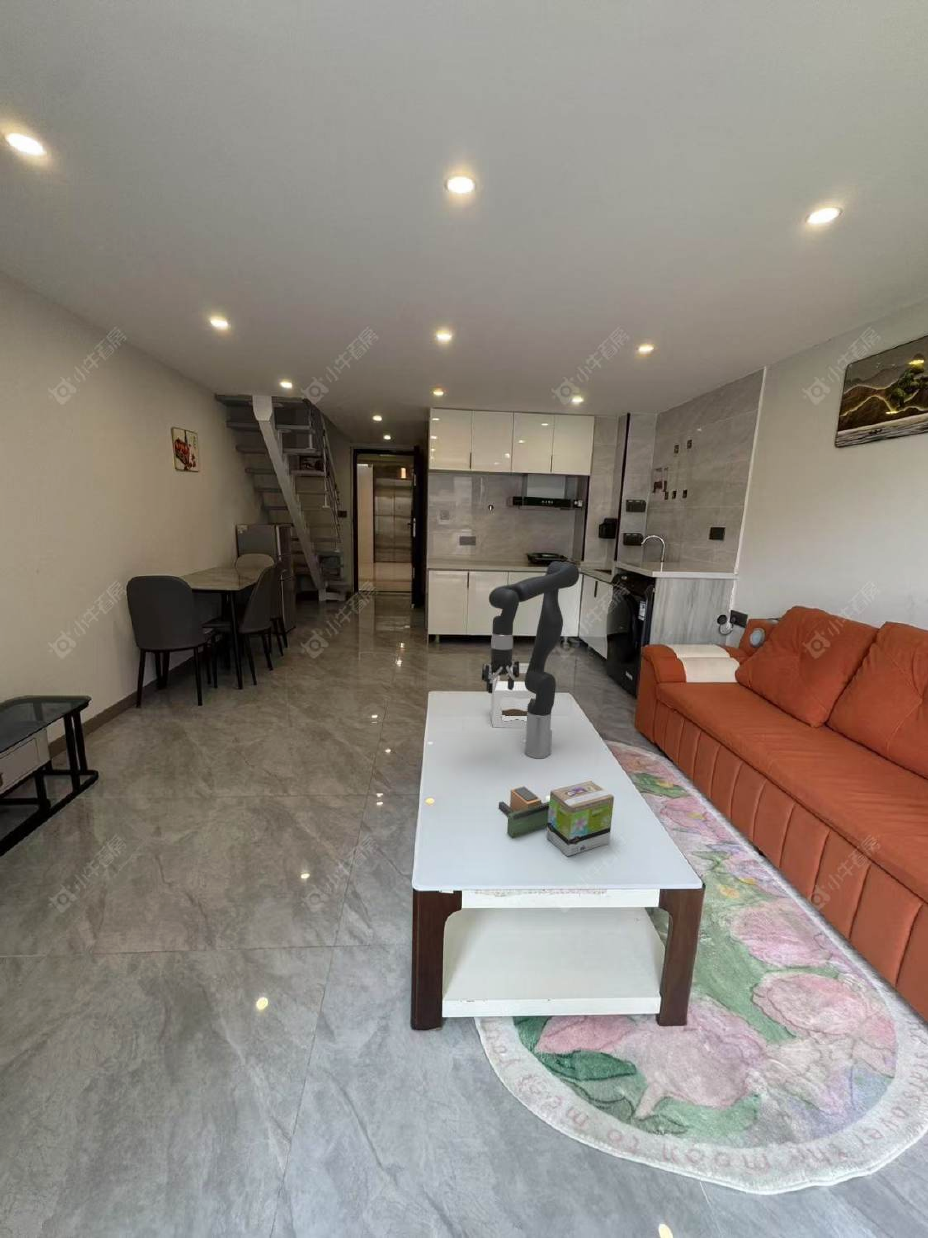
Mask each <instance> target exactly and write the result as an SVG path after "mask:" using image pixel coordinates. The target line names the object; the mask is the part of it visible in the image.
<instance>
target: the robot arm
mask: <svg viewBox="0 0 928 1238" xmlns="http://www.w3.org/2000/svg"><path fill="white" fill-rule="evenodd" d="M545 573H546V574H545V575H539V576H534V577H529V578H526V579H523V580H520V581H518V582H516V583H511V584H506V585H501V586H498V587H496V588H494V589H492V590H491V592H490V593H489V596H488V602H489V604H490V606H491V607H493V608H495V609H500V610H501V613H500V614H499V615H496V616H494V617H493V619H492V628H491V629H492V631H491V632H492V634H491V642H490V663H489V664H486V663H483V664H482V669H481V670H482V671H481V680H482V681H483V682H485V683H486V692H487V693H488V694H490V695H491V693H492V692H493V683H492V682H493V680H494V679H495V678H496V677H497V676H500V677H501V676H503V675H505V676H507V677H508V679H507V681H508V689H509V690H513V688H514V681H515V679H516V678H520V673H519V663H520V661H518V660H517V659H513V653H514V652H513V651H514V649H513V648H514V634H513V632H514V620H515V618H516V615H517V612H518V609H519V605H520V603H523V602H526V601H528V600H530V599H533V598H536V597H538V596H540V595H543V597H542V598H543V599H542V604H541V611H540V616H539V618H538V624H537V627H536V628H537V629H536V635H535V638H534V640H535V641H534V643H533V648H532V649H533V650H532V653H531V656H530V659H529V662H528V663H529V666H528V669H527V672H526V673H525V675H524V676H525V677H524V681H525V687H526V689H527V690H528V691H530V692H532V693H534V694H536V699H535V701H532V702H530V701H529V702H528V704H527V709H526V711H527V725H526V728H525V747H524V749H525V750H524V753H525V755H526V756H527V757H530V758H533V759H545V758H547V757H549V755H551V754H552V742H553V741H552V740H553V730H551V724H552V723H551V721H552V709H553V707H554V703H555V696H556V688H557V684H556V683H557V682H556V678H555V676H554V674H551V673H549V672H547V671H545V665H546V663H547V662H546V661H547V659H548V657H549V656H550V653H551V652H552V651H553V650H554V649H555V648H556V647H557V645H558V643H559V642H560V640H561V637H562V634H563V633H562V632H563V627H564V618H563V614H562V611H561V608H560V603H559V591H560V590H561V589H567V588H570V587H571V588H572V587H573V586H575V585H576V584H577V583H578V581H579V578H580V569H579V568H578V566H577V565H576V564H575V563H572V562H566V561H556V560H555V561H552V562H550V564H549V565H548V567H547V569H546V572H545ZM511 666H513V673H512V671H511V670H510V668H511Z"/></svg>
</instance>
